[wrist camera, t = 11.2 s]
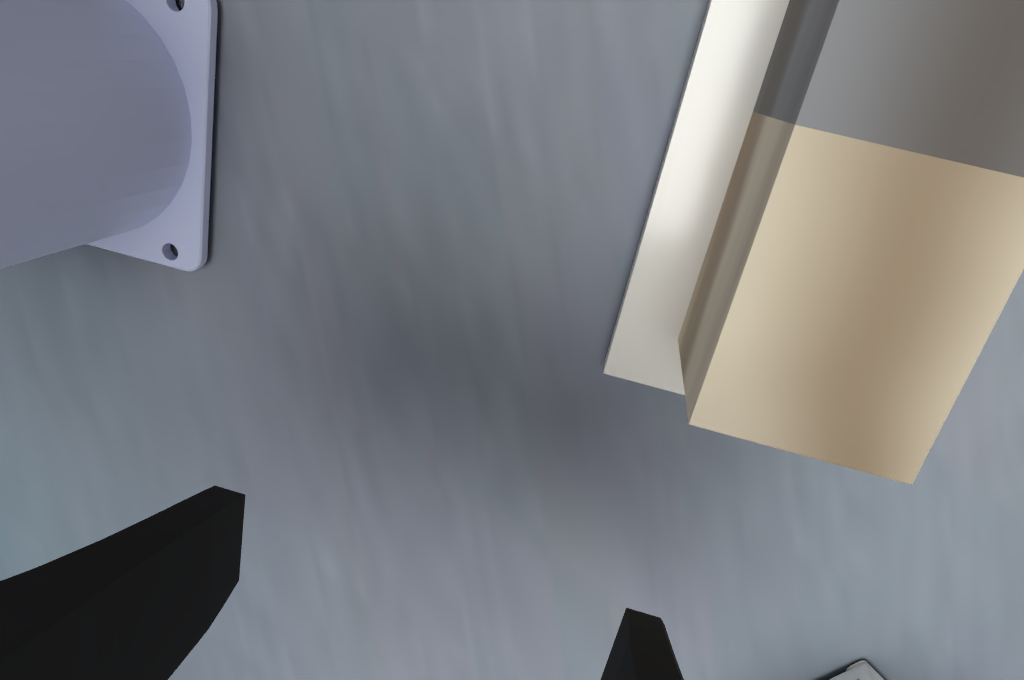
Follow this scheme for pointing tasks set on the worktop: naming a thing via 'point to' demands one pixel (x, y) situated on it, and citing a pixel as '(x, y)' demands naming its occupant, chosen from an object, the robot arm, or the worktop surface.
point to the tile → (692, 187)
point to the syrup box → (859, 672)
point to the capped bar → (864, 232)
